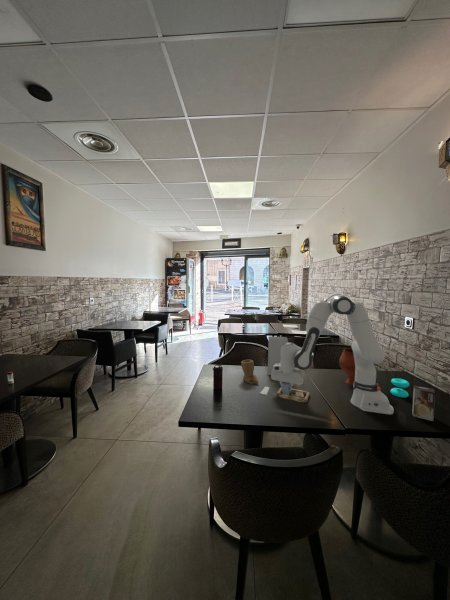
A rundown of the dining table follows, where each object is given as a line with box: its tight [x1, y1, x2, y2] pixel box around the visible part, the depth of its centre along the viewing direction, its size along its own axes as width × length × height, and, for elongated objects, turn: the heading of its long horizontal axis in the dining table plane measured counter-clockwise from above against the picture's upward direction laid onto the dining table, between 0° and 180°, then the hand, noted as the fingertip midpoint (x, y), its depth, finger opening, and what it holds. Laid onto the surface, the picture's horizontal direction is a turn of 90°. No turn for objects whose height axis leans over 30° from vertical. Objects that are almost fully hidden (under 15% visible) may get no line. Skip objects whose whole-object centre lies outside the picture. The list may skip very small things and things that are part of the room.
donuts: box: [389, 378, 410, 399], centre depth 169 cm, size 10×10×10 cm
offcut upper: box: [295, 392, 305, 398], centre depth 159 cm, size 4×6×2 cm
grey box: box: [266, 336, 289, 376], centre depth 200 cm, size 14×6×30 cm, turn 84°
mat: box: [259, 386, 270, 396], centre depth 169 cm, size 9×12×1 cm
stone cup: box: [241, 359, 259, 385], centre depth 187 cm, size 15×12×15 cm
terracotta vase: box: [338, 347, 355, 386], centre depth 186 cm, size 19×19×25 cm
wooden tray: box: [276, 387, 310, 404], centre depth 161 cm, size 18×12×4 cm, turn 63°
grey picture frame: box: [411, 385, 436, 422], centre depth 141 cm, size 9×6×16 cm
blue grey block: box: [281, 382, 291, 395], centre depth 162 cm, size 4×7×9 cm, turn 153°
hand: (286, 388), depth 162 cm, fingers closed on blue grey block, 3 cm apart
